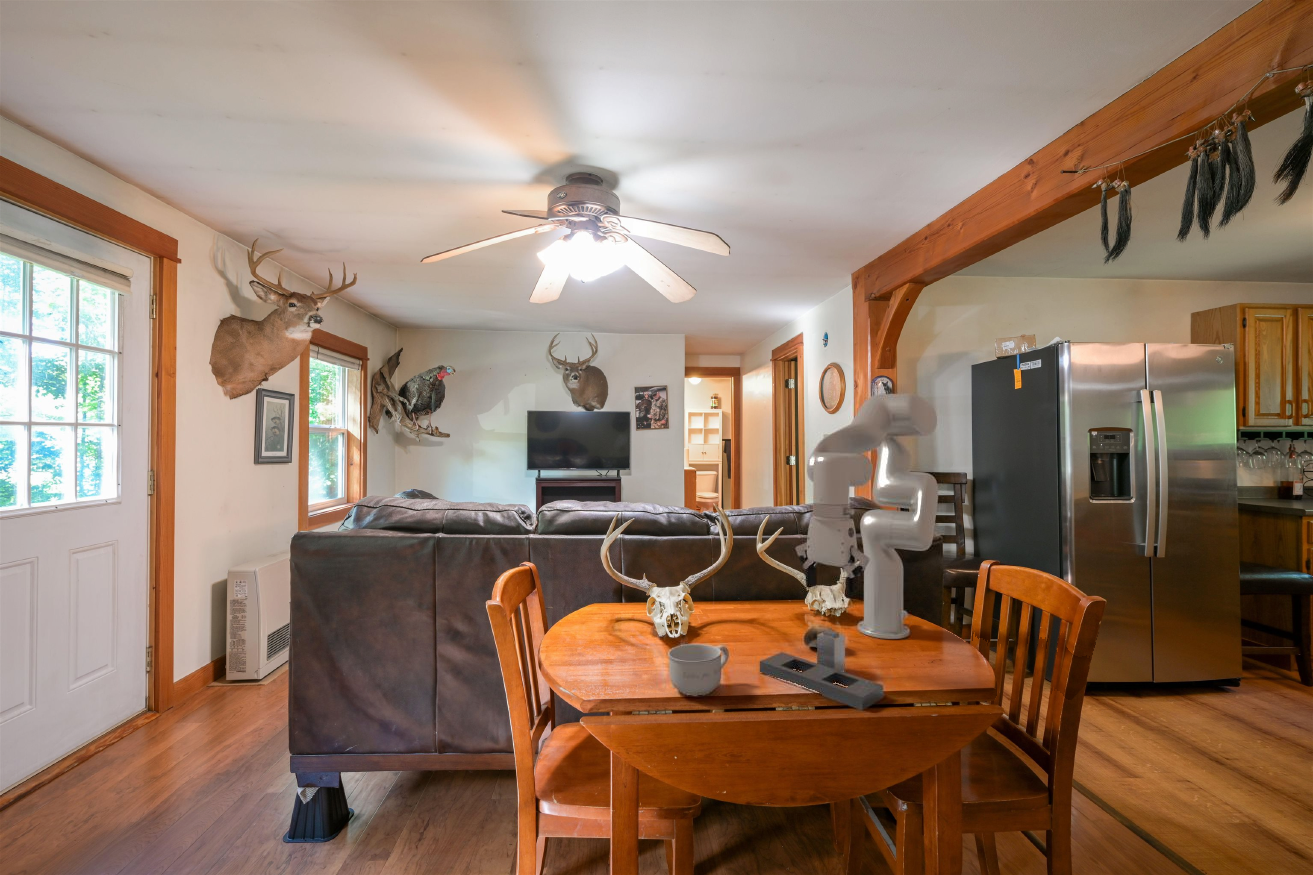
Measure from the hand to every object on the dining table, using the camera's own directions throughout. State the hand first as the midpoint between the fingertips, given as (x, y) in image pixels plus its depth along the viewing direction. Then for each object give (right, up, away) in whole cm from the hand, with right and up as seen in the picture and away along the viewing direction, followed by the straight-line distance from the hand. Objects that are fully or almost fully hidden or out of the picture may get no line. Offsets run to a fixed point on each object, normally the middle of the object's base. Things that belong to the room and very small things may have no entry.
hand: (830, 590), depth 131 cm
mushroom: (+2, -18, +14) cm, 23 cm away
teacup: (-28, -18, -8) cm, 35 cm away
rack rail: (-4, -18, -7) cm, 19 cm away
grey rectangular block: (0, -18, 0) cm, 18 cm away
